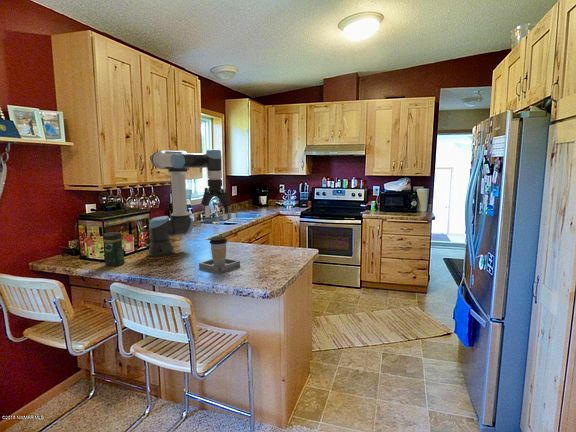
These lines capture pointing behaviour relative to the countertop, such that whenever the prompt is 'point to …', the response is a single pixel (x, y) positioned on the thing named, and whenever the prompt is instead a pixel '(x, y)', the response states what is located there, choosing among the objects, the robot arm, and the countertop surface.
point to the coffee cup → (218, 250)
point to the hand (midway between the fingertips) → (216, 218)
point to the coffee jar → (113, 249)
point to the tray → (210, 267)
